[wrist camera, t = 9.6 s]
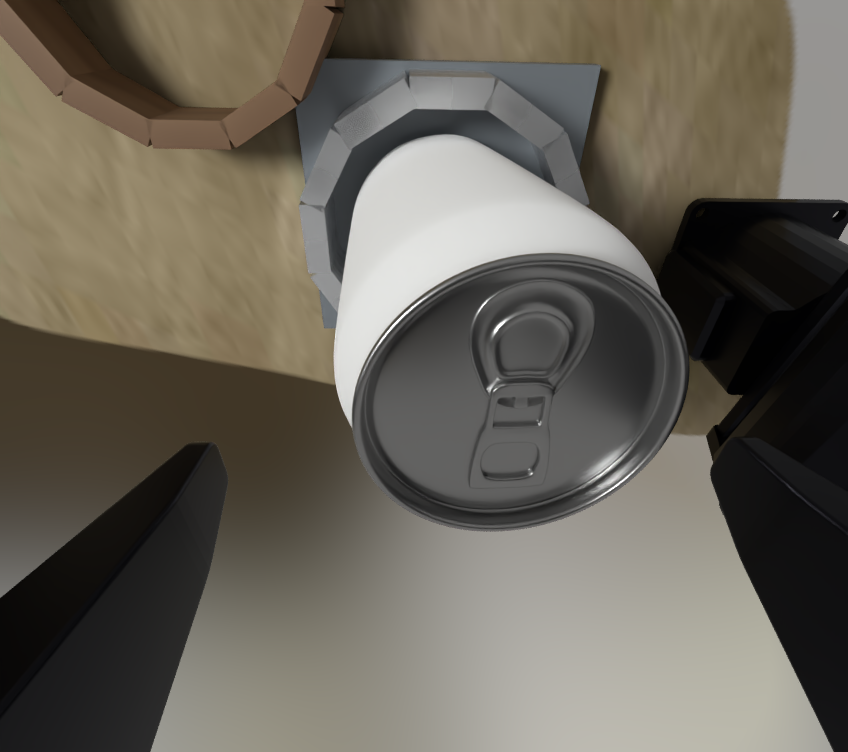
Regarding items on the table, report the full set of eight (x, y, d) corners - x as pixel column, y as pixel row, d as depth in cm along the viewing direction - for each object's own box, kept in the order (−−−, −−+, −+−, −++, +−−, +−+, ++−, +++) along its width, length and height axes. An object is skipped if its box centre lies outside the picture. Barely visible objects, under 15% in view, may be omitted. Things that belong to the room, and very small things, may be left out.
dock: (595, 63, 16) (628, 72, 13) (542, 322, 22) (558, 359, 19) (292, 57, 15) (271, 64, 13) (325, 321, 21) (315, 359, 19)
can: (533, 134, 16) (790, 224, 6) (509, 304, 20) (649, 538, 10) (348, 128, 16) (302, 219, 6) (356, 305, 19) (337, 556, 9)
